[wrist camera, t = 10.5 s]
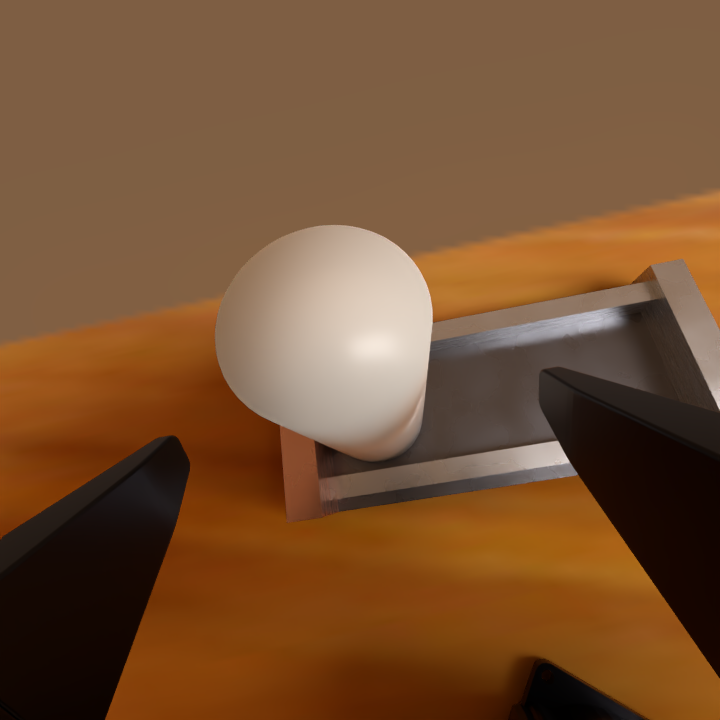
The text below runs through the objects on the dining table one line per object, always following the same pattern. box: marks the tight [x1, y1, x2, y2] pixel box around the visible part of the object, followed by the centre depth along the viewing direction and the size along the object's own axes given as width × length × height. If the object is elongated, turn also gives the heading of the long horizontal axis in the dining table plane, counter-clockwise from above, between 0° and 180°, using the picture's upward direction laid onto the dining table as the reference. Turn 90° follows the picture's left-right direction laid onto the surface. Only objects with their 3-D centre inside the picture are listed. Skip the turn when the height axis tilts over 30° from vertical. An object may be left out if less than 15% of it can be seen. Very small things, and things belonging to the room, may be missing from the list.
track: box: [280, 259, 720, 523], centre depth 18 cm, size 21×9×4 cm, turn 98°
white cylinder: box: [215, 225, 433, 463], centre depth 14 cm, size 5×5×12 cm
